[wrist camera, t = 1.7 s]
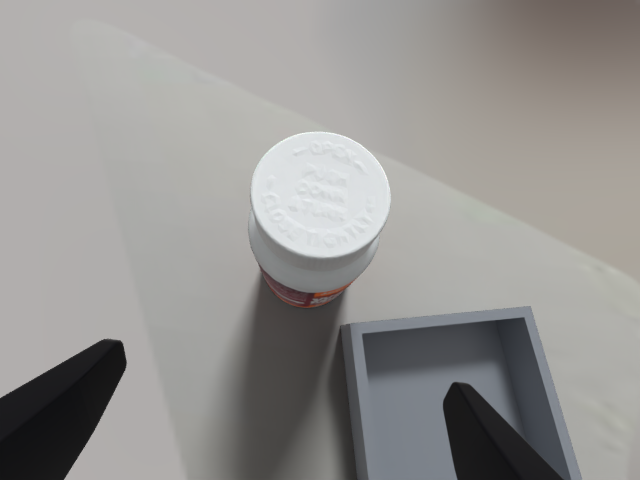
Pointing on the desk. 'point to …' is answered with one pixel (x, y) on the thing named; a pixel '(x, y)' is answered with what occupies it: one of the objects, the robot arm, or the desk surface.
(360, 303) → the desk surface
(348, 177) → the pill bottle
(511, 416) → the slate tray
